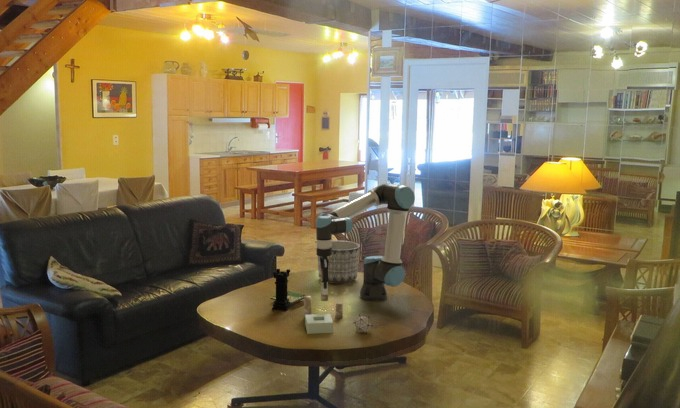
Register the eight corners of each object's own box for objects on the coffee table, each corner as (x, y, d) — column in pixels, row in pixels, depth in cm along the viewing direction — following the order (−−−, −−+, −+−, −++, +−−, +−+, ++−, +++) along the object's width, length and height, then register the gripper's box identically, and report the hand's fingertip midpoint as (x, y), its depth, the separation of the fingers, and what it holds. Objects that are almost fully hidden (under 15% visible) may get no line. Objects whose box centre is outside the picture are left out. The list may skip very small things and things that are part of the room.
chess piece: (286, 310, 306) (286, 273, 302) (271, 309, 307) (271, 272, 304) (291, 305, 313) (291, 269, 310) (276, 304, 315) (276, 268, 312)
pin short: (341, 315, 300) (342, 302, 299) (343, 317, 296) (343, 304, 295) (335, 315, 299) (335, 302, 298) (336, 318, 296) (336, 304, 295)
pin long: (327, 298, 298) (327, 267, 295) (328, 300, 294) (328, 269, 291) (320, 298, 297) (320, 268, 294) (321, 301, 293) (321, 270, 291)
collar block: (329, 323, 288) (329, 313, 287) (333, 332, 276) (333, 322, 276) (305, 324, 286) (305, 314, 286) (307, 333, 275) (307, 323, 274)
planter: (312, 284, 352) (313, 248, 349) (321, 273, 377) (321, 239, 374) (355, 287, 348) (356, 251, 344) (361, 275, 373) (362, 241, 370)
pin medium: (310, 316, 297) (310, 295, 296) (311, 319, 294) (311, 297, 292) (303, 316, 297) (303, 295, 295) (304, 319, 293) (304, 298, 292)
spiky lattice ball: (358, 339, 279) (351, 319, 283) (375, 332, 279) (368, 312, 283) (357, 336, 271) (349, 315, 274) (374, 329, 271) (367, 309, 275)
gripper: (314, 243, 298) (315, 288, 302) (318, 251, 282) (318, 298, 286) (329, 243, 300) (329, 287, 303) (333, 251, 283) (334, 298, 287)
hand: (324, 292), depth 295 cm, fingers closed on pin long, 3 cm apart
